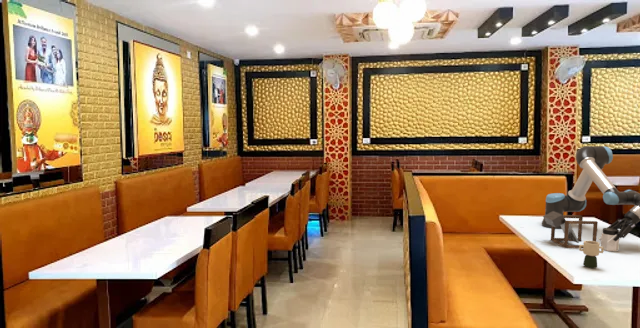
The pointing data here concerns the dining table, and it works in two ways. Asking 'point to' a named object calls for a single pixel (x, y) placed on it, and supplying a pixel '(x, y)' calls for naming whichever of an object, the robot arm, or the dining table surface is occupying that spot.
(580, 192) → the robot arm
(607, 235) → the jar
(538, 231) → the dining table surface
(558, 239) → the trapdoor frame
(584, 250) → the character mug
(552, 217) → the trapdoor
